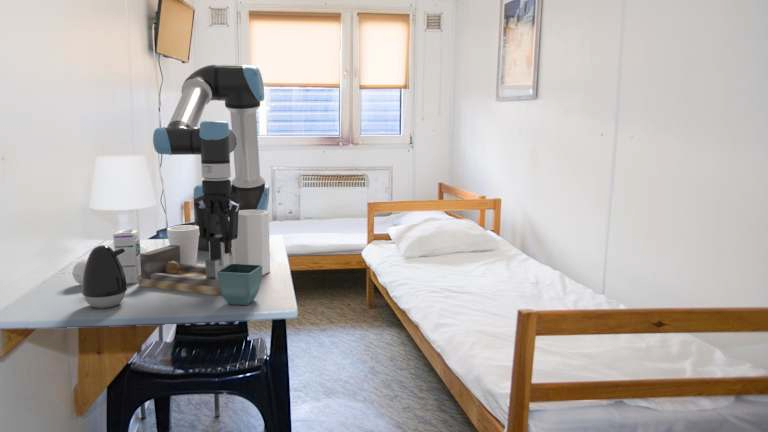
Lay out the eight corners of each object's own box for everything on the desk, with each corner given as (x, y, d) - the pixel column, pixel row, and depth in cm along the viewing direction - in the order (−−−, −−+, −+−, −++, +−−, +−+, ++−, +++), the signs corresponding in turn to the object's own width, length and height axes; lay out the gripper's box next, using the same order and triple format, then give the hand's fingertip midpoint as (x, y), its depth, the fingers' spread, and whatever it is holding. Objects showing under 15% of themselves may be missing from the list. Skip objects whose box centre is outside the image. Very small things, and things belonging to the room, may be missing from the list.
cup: (267, 277, 180) (266, 214, 177) (229, 277, 179) (227, 215, 176) (272, 267, 191) (270, 209, 188) (235, 268, 190) (233, 209, 187)
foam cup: (191, 274, 183) (189, 231, 181) (163, 272, 185) (160, 230, 183) (206, 266, 192) (204, 225, 190) (179, 265, 194) (177, 224, 192)
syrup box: (138, 283, 173) (135, 232, 170) (116, 284, 172) (112, 233, 169) (142, 278, 178) (139, 229, 176) (121, 279, 177) (118, 229, 175)
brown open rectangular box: (139, 285, 170) (137, 254, 169) (172, 273, 183) (170, 244, 182) (218, 295, 161) (217, 262, 160) (247, 282, 174) (246, 251, 173)
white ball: (105, 280, 175) (103, 255, 174) (99, 287, 168) (97, 261, 167) (67, 282, 173) (65, 257, 172) (59, 289, 166) (57, 263, 165)
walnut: (171, 272, 177) (170, 258, 176) (182, 273, 175) (182, 260, 175) (162, 275, 173) (161, 261, 172) (173, 277, 172) (173, 263, 171)
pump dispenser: (120, 311, 148) (116, 249, 146) (76, 312, 147) (71, 250, 145) (134, 298, 158) (130, 241, 156) (92, 299, 157) (88, 241, 155)
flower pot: (251, 308, 150) (250, 273, 149) (217, 306, 152) (216, 271, 150) (264, 298, 159) (263, 264, 158) (231, 296, 160) (230, 263, 159)
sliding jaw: (206, 281, 165) (204, 238, 163) (224, 274, 173) (222, 232, 171) (215, 283, 164) (214, 239, 162) (233, 275, 172) (232, 233, 170)
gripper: (182, 179, 164) (186, 264, 167) (234, 181, 158) (237, 269, 162) (199, 176, 171) (203, 258, 174) (249, 178, 165) (252, 263, 169)
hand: (219, 264), depth 168 cm, fingers closed on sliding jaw, 3 cm apart
